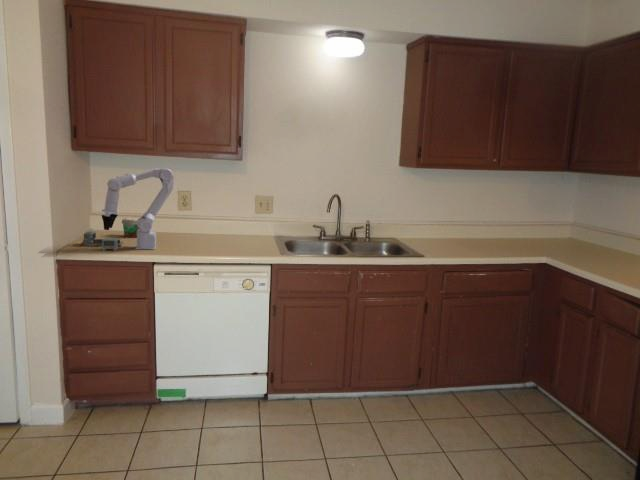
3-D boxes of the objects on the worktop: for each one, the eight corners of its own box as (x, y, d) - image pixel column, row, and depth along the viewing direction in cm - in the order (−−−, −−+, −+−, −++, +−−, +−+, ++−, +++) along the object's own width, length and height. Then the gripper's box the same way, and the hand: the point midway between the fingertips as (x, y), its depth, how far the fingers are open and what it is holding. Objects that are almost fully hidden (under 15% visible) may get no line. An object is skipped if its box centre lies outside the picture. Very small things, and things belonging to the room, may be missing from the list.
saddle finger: (104, 248, 250) (103, 238, 249) (117, 248, 252) (117, 238, 251) (102, 250, 246) (101, 240, 245) (115, 250, 247) (115, 240, 246)
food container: (117, 236, 282) (116, 219, 280) (125, 234, 287) (125, 217, 285) (132, 239, 276) (132, 221, 274) (140, 237, 281) (140, 220, 279)
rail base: (123, 243, 264) (123, 231, 263) (120, 246, 257) (120, 234, 255) (83, 243, 260) (83, 231, 259) (79, 246, 252) (79, 233, 251)
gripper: (106, 199, 251) (102, 225, 253) (100, 202, 237) (96, 229, 239) (120, 202, 253) (117, 227, 254) (115, 204, 239) (111, 231, 240)
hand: (107, 228), depth 247 cm, fingers open, 7 cm apart
